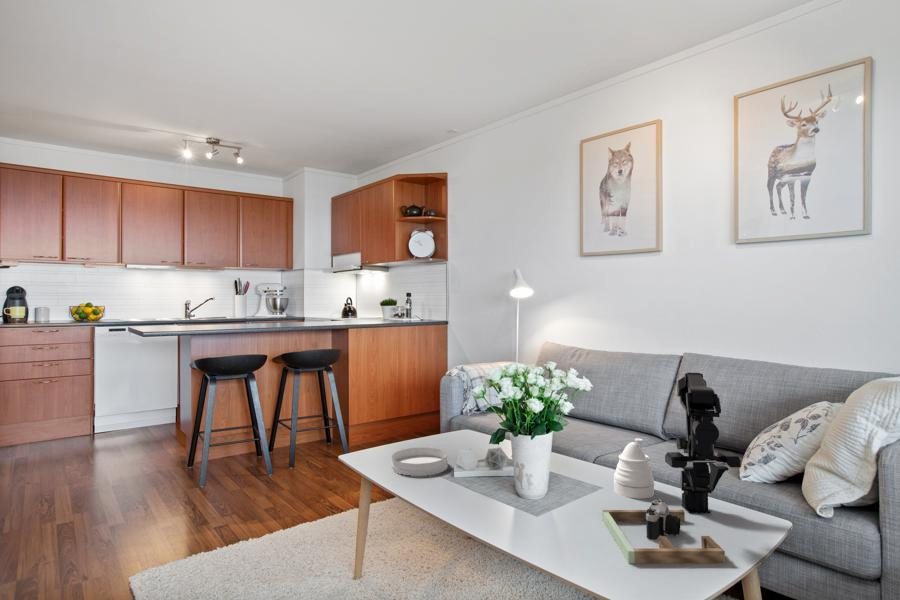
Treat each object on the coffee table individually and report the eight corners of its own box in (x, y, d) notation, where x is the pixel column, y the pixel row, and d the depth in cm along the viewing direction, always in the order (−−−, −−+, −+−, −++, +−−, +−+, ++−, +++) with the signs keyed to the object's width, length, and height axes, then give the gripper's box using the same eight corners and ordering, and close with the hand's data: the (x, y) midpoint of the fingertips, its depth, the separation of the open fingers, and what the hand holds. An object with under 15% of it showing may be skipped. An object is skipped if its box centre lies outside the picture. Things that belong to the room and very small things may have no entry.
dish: (382, 474, 206) (382, 461, 206) (404, 457, 227) (403, 445, 227) (437, 479, 200) (437, 465, 200) (454, 461, 221) (454, 449, 221)
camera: (674, 546, 143) (675, 512, 143) (644, 540, 147) (644, 506, 147) (682, 532, 154) (682, 499, 154) (653, 526, 158) (654, 494, 159)
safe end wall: (607, 520, 160) (607, 510, 160) (634, 563, 134) (634, 551, 134) (602, 520, 160) (602, 510, 160) (628, 563, 134) (628, 551, 134)
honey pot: (659, 490, 184) (658, 437, 184) (646, 501, 174) (645, 445, 174) (622, 482, 192) (622, 431, 192) (607, 492, 182) (607, 439, 182)
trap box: (682, 519, 160) (682, 509, 160) (724, 563, 134) (724, 551, 134) (602, 520, 160) (602, 510, 160) (628, 563, 134) (628, 551, 134)
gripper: (722, 427, 158) (723, 480, 158) (657, 427, 158) (658, 480, 158) (742, 436, 147) (742, 494, 147) (672, 437, 147) (673, 494, 147)
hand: (702, 490), depth 150 cm, fingers open, 5 cm apart
